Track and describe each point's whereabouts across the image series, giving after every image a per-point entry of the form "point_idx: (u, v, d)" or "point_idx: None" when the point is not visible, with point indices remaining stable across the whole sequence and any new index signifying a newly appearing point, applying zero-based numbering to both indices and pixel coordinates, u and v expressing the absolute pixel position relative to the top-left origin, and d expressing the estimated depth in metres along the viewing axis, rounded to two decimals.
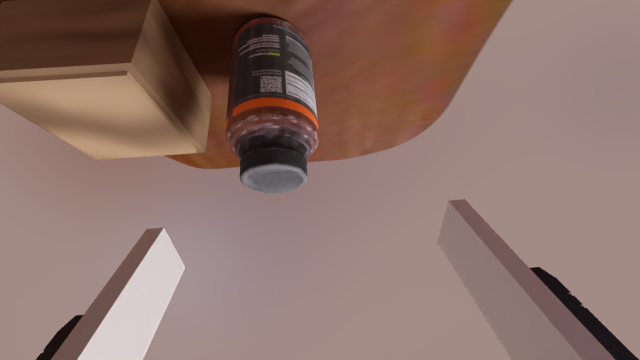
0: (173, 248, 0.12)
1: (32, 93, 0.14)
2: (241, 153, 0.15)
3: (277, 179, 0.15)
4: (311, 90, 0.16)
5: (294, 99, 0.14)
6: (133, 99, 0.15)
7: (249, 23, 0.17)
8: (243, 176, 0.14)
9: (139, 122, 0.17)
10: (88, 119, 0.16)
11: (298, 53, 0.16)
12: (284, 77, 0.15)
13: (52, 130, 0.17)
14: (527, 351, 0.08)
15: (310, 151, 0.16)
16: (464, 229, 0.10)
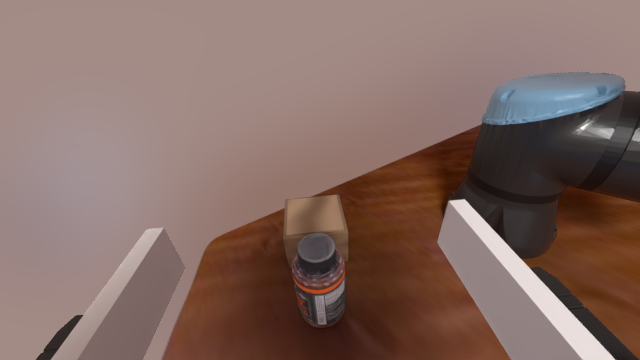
0: (173, 248, 0.12)
1: (333, 204, 0.39)
2: None
3: (318, 247, 0.26)
4: (332, 301, 0.27)
5: (342, 280, 0.27)
6: (331, 226, 0.35)
7: None
8: (324, 234, 0.27)
9: (315, 222, 0.36)
10: (318, 209, 0.38)
11: (340, 306, 0.29)
12: (344, 284, 0.28)
13: (312, 198, 0.41)
14: (527, 351, 0.08)
15: (313, 279, 0.25)
16: (464, 229, 0.10)
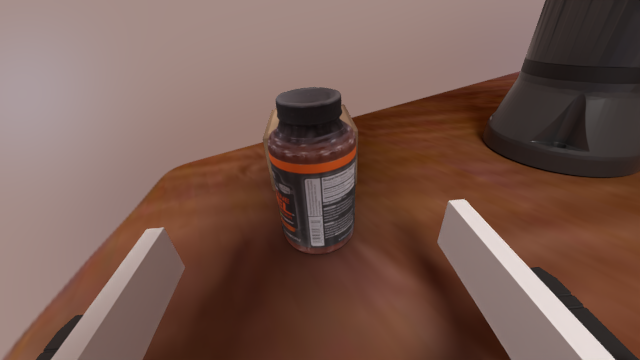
0: (173, 248, 0.12)
1: None
2: None
3: (311, 95, 0.15)
4: (333, 197, 0.16)
5: (352, 161, 0.16)
6: None
7: None
8: None
9: None
10: None
11: (347, 216, 0.18)
12: (354, 177, 0.17)
13: None
14: (527, 351, 0.08)
15: (302, 145, 0.14)
16: (464, 229, 0.10)
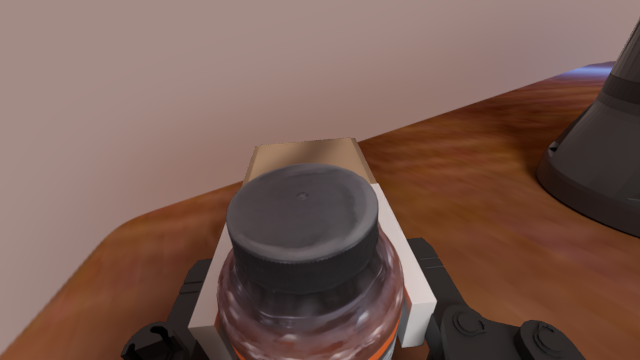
0: None
1: (345, 149, 0.20)
2: None
3: (311, 201, 0.06)
4: None
5: (397, 327, 0.07)
6: None
7: None
8: (332, 165, 0.08)
9: None
10: (316, 158, 0.19)
11: None
12: None
13: (305, 142, 0.22)
14: None
15: (288, 335, 0.06)
16: None
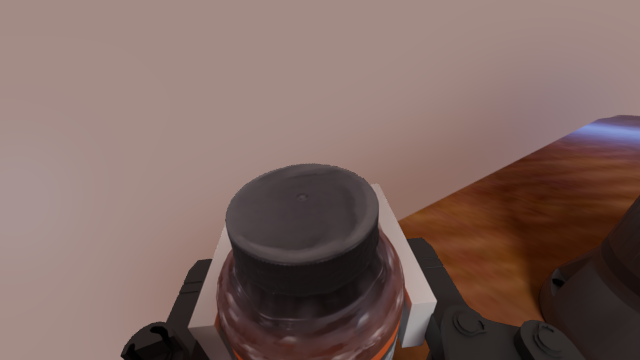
0: None
1: None
2: None
3: (310, 201, 0.06)
4: None
5: (397, 329, 0.07)
6: None
7: None
8: (332, 166, 0.08)
9: None
10: None
11: None
12: None
13: None
14: None
15: (287, 337, 0.06)
16: None
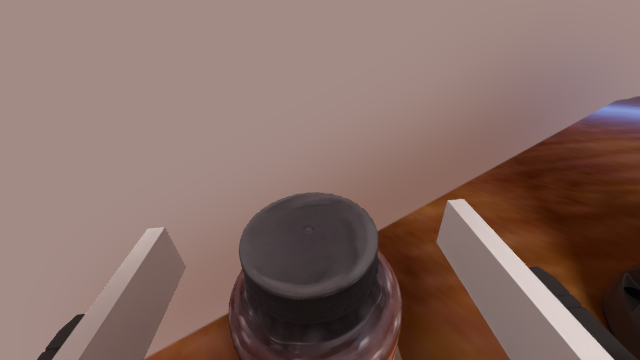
0: (174, 247, 0.12)
1: None
2: None
3: (316, 234, 0.07)
4: None
5: (395, 348, 0.08)
6: None
7: None
8: (335, 195, 0.09)
9: None
10: None
11: None
12: None
13: None
14: (525, 350, 0.08)
15: None
16: (463, 229, 0.10)
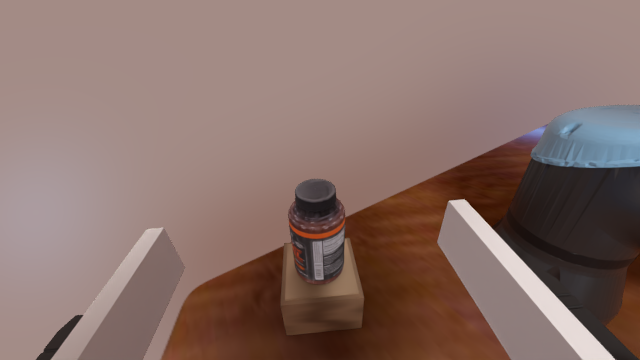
0: (173, 248, 0.12)
1: None
2: None
3: (317, 189, 0.24)
4: (330, 250, 0.25)
5: (342, 228, 0.25)
6: (341, 287, 0.28)
7: None
8: None
9: None
10: None
11: (339, 260, 0.27)
12: (343, 235, 0.26)
13: None
14: (527, 351, 0.08)
15: (311, 222, 0.23)
16: (464, 229, 0.10)
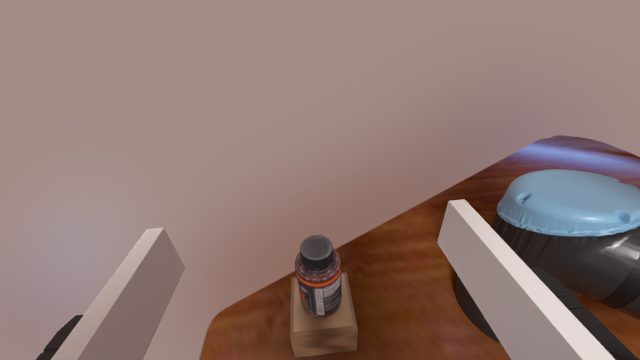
0: (173, 248, 0.12)
1: (341, 287, 0.38)
2: None
3: (318, 247, 0.30)
4: (329, 294, 0.31)
5: (338, 276, 0.31)
6: (339, 319, 0.34)
7: None
8: (323, 236, 0.32)
9: None
10: None
11: (336, 299, 0.33)
12: (340, 280, 0.32)
13: None
14: (527, 351, 0.08)
15: (313, 274, 0.30)
16: (464, 229, 0.10)
